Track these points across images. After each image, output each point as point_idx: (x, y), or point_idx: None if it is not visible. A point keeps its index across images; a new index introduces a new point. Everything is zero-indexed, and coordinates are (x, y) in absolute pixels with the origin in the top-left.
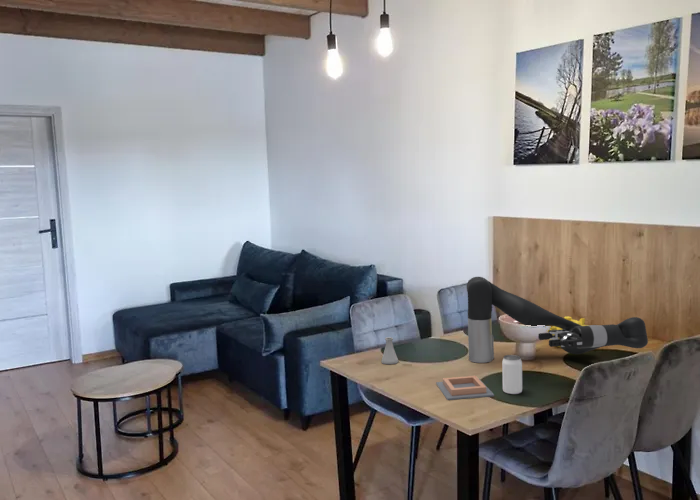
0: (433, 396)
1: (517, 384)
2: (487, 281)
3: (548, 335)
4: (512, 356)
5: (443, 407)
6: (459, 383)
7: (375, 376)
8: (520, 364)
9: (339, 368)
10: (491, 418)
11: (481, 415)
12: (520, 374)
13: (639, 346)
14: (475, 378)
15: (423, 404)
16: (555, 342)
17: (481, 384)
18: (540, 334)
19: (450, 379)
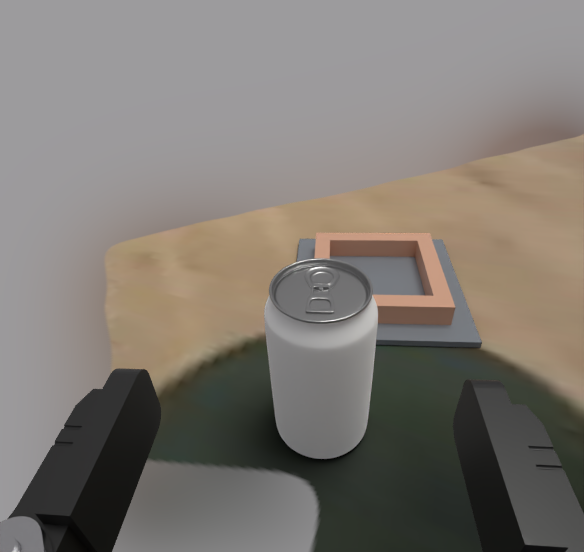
0: (337, 227)
1: (272, 393)
2: None
3: (508, 542)
4: (355, 302)
5: (254, 231)
6: (421, 278)
7: (504, 171)
8: (271, 335)
9: (558, 141)
10: (125, 290)
11: (159, 278)
12: (275, 377)
13: None
14: (418, 299)
15: (290, 209)
16: (67, 432)
17: None
18: (470, 391)
19: (418, 246)
